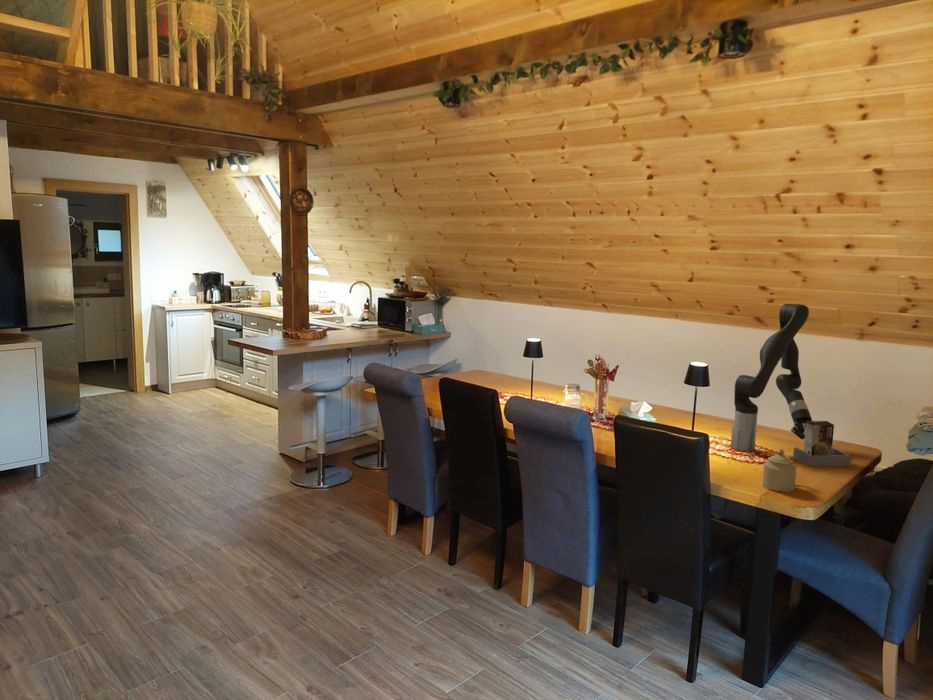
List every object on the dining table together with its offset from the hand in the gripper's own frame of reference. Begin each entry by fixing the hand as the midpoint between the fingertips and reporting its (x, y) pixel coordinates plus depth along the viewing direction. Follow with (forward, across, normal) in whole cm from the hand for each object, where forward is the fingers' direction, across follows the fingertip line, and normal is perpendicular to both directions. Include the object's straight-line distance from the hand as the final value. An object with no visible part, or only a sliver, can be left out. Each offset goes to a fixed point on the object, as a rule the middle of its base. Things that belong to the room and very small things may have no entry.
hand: (812, 446), depth 287 cm
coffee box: (+6, 0, 0) cm, 6 cm away
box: (+8, 0, -2) cm, 9 cm away
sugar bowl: (+29, -33, -23) cm, 49 cm away
